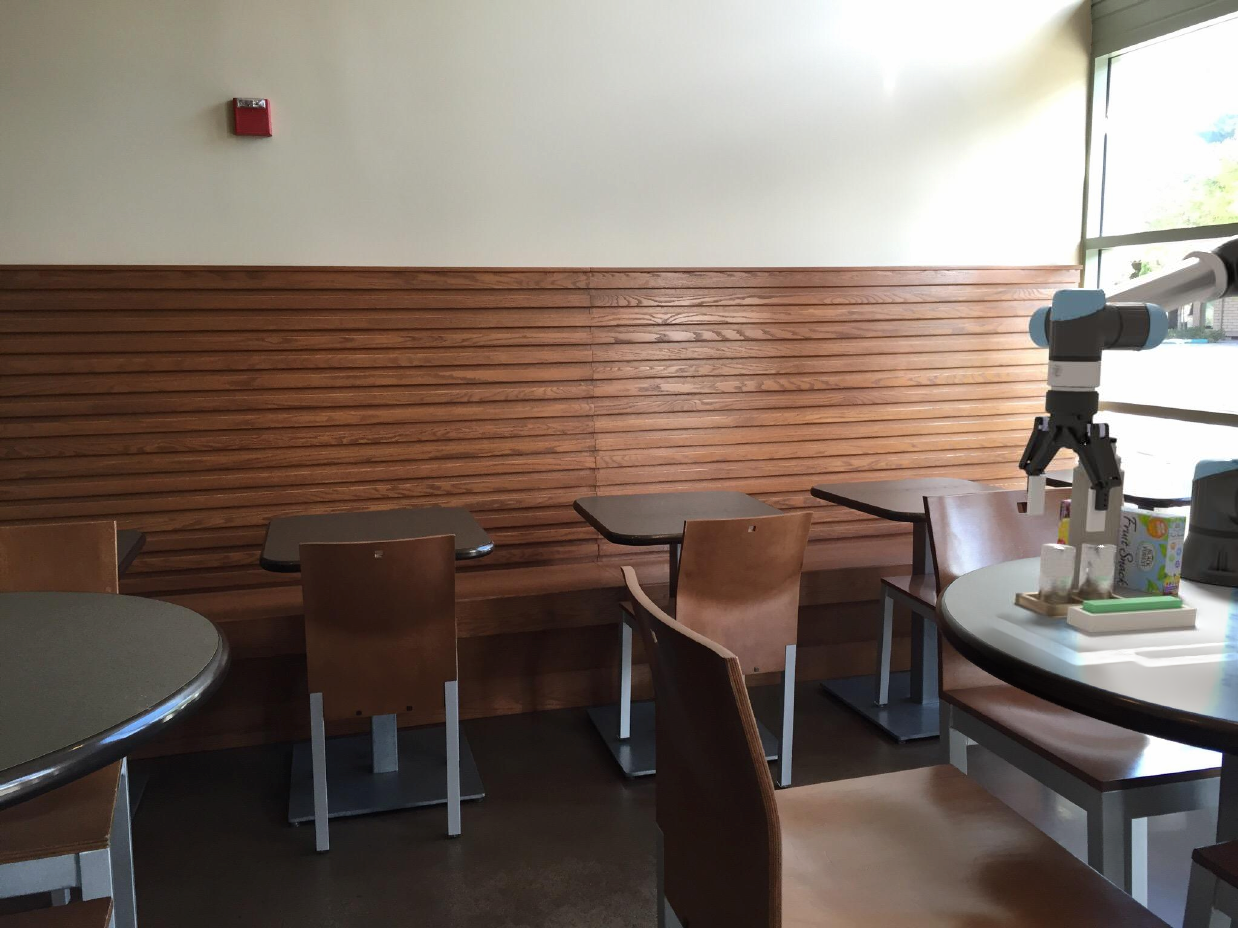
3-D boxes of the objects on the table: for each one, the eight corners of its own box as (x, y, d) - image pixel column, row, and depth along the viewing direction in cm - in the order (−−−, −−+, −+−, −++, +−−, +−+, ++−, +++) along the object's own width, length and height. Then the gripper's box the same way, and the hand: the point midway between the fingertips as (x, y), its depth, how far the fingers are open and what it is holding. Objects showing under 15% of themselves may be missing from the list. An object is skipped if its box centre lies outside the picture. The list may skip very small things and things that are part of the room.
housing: (1167, 625, 152) (1170, 600, 152) (1194, 634, 148) (1196, 609, 147) (1065, 631, 148) (1068, 606, 147) (1089, 641, 143) (1091, 615, 142)
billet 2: (1095, 600, 161) (1100, 541, 159) (1118, 608, 156) (1123, 547, 154) (1070, 602, 159) (1075, 542, 158) (1092, 610, 154) (1097, 549, 153)
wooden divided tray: (1092, 604, 164) (1094, 587, 163) (1138, 621, 154) (1140, 603, 154) (1011, 609, 159) (1012, 591, 159) (1053, 627, 150) (1054, 608, 149)
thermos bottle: (1106, 590, 174) (1119, 435, 170) (1119, 602, 166) (1134, 439, 162) (1058, 587, 175) (1071, 433, 172) (1069, 598, 167) (1083, 437, 164)
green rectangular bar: (1167, 620, 151) (1169, 595, 150) (1179, 625, 148) (1182, 599, 148) (1080, 626, 147) (1083, 600, 146) (1092, 631, 144) (1094, 605, 144)
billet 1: (1057, 603, 158) (1061, 543, 157) (1077, 611, 154) (1083, 549, 152) (1030, 604, 157) (1035, 544, 156) (1050, 612, 152) (1055, 550, 151)
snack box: (1180, 601, 168) (1188, 515, 166) (1160, 605, 165) (1169, 517, 163) (1071, 574, 186) (1077, 496, 184) (1052, 577, 183) (1058, 498, 181)
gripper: (1000, 385, 162) (994, 509, 165) (1112, 394, 138) (1101, 539, 141) (1039, 384, 164) (1031, 507, 167) (1155, 393, 140) (1144, 537, 143)
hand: (1063, 522), depth 154 cm, fingers open, 13 cm apart
